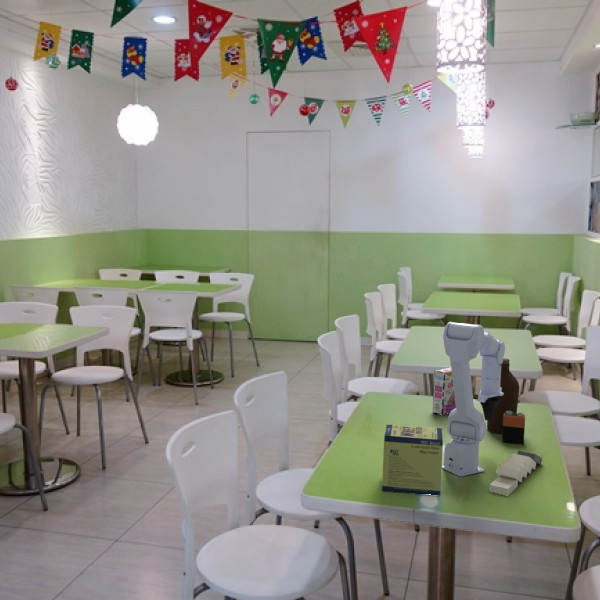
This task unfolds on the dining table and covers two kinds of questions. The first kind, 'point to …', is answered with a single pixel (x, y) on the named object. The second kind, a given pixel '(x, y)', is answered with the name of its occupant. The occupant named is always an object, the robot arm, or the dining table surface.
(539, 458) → the domino
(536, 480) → the dining table surface
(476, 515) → the dining table surface
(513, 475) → the domino
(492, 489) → the domino
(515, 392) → the olive oil
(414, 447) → the protein box
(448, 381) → the candy bar box
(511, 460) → the domino
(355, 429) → the dining table surface
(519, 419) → the battery
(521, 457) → the domino
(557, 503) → the dining table surface
